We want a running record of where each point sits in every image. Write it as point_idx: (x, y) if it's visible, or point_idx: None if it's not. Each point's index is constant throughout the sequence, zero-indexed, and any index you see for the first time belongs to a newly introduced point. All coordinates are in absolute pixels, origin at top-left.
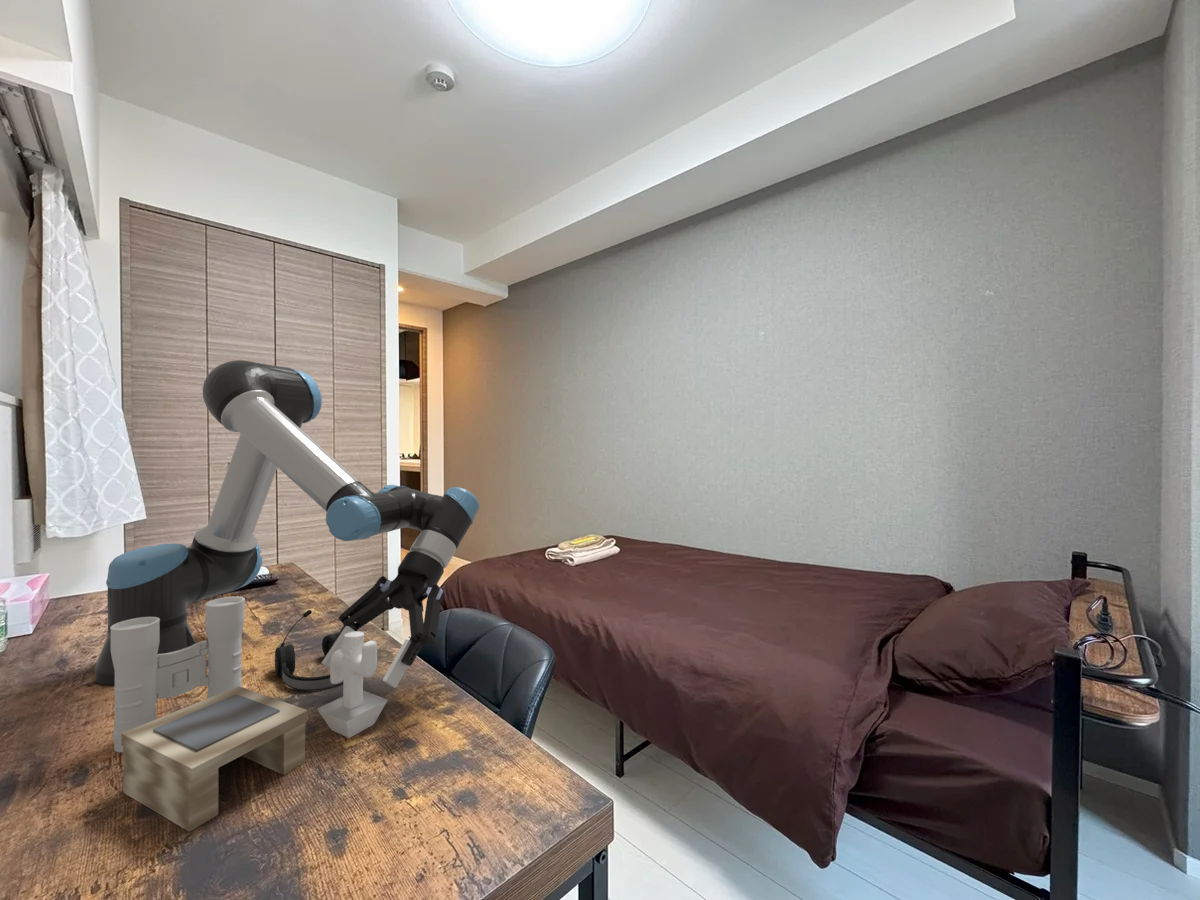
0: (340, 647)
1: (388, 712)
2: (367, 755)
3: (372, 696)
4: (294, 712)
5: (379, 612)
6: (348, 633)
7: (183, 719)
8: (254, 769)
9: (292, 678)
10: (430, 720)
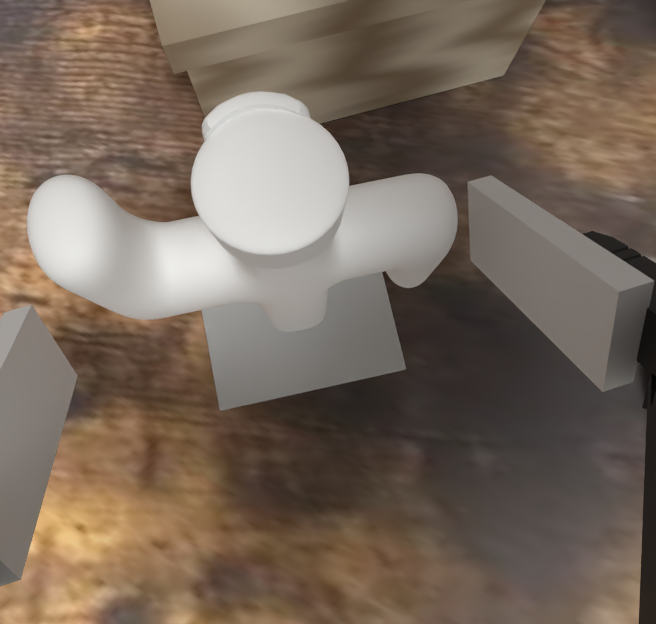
0: (525, 258)
1: (299, 445)
2: None
3: (296, 379)
4: (184, 10)
5: (645, 588)
6: (305, 138)
7: None
8: None
9: None
10: (125, 529)
